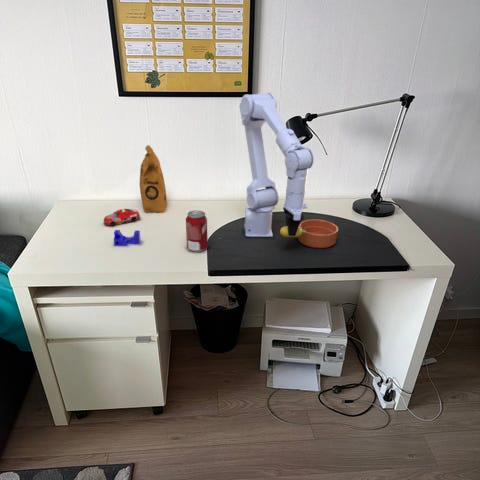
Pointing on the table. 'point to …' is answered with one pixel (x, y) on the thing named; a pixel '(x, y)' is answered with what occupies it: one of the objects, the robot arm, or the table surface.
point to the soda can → (196, 231)
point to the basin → (318, 233)
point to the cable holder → (126, 238)
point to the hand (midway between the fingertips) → (291, 232)
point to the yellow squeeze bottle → (285, 234)
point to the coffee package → (152, 183)
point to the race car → (122, 217)
